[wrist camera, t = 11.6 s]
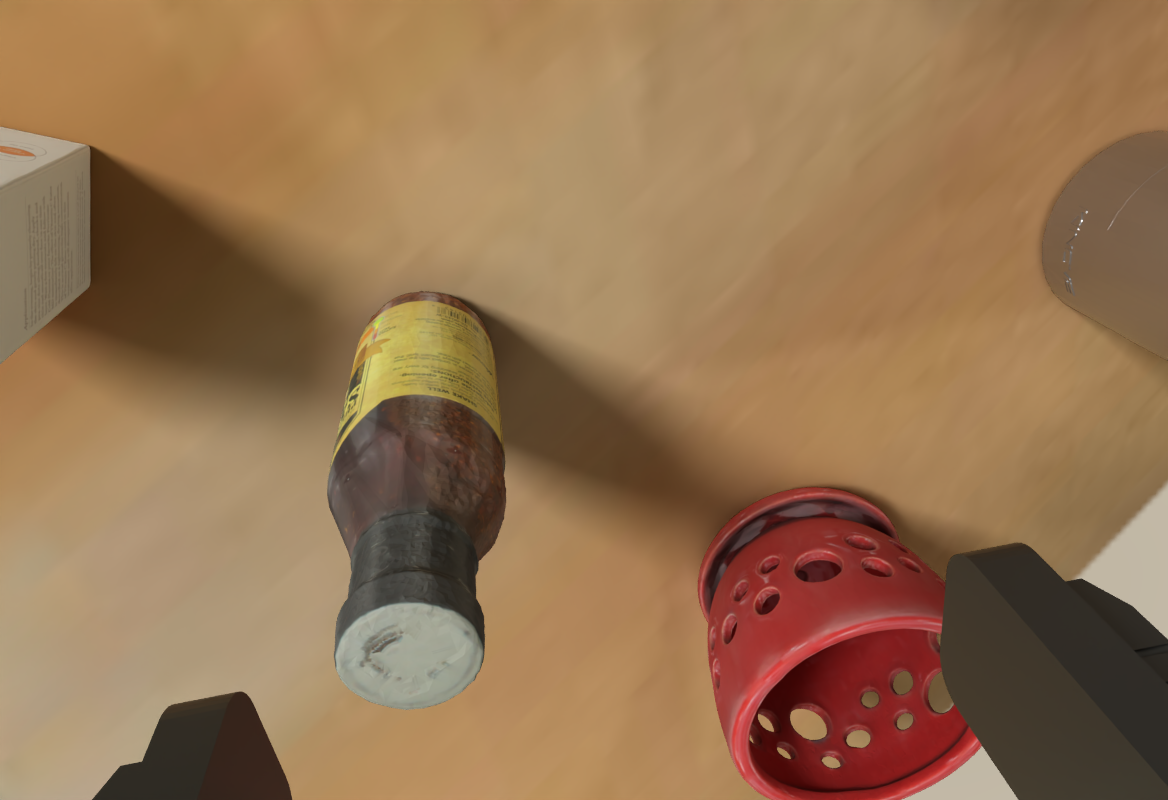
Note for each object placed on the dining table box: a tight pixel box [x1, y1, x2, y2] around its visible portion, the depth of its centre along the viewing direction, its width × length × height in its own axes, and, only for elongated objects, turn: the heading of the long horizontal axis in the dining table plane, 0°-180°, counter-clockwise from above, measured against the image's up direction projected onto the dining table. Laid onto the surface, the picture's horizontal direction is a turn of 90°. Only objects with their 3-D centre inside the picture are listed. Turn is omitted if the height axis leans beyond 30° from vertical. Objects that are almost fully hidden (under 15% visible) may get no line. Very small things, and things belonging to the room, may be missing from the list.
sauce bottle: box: [327, 291, 506, 710], centre depth 31 cm, size 7×6×20 cm
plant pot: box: [698, 487, 982, 800], centre depth 43 cm, size 13×13×12 cm
